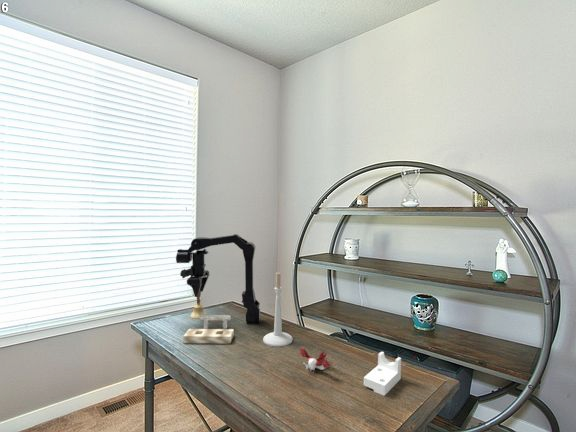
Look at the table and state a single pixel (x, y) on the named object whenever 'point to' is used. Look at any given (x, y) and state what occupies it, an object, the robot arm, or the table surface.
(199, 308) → the hand bell
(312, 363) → the figurine
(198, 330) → the maple rail
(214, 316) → the steel clip
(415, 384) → the table surface
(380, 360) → the bracket
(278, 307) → the candlestick
